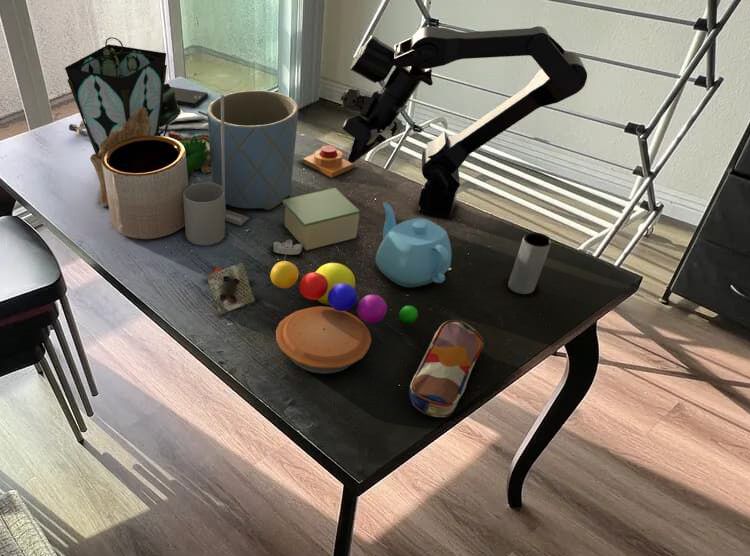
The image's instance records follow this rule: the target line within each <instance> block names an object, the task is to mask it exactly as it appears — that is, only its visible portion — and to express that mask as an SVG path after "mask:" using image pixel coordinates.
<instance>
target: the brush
mask: <svg viewBox="0 0 750 556" xmlns="http://www.w3.org/2000/svg"><path fill="white" fill-rule="evenodd" d="M224 95H225V94H224V93H221V94H220V97H221V156H222V188H223V189H224V195H225V156H224ZM226 205H227V204H226V199H225V222H228V223H231V224H234V225H237V226H242V225H243V224H244V223H245V222H246V221H247V220H249V219H250V216H247V215H244V214H241V213H239V212H238V213H237V212H235V211H232V210H229V209H226V208H227V207H226Z"/></svg>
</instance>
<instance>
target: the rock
mask: <svg viewBox="0 0 750 556" xmlns="http://www.w3.org/2000/svg"><path fill="white" fill-rule="evenodd" d="M150 134H151V125H150V120H149V117H148V111H147V110H146V108H144V107H142V108H139V109H138V110H136V111H135V113H134V114H133V115H132V116H130V118H129V119H128V121H127V122H126V123H125V125H124V126H123V127H122V128H121V129H120V130H119V131H112V132H110V134H109V136H108V137H107V138H106V139H105V140H104V141H103V142H102V143H101V144H100V150H99V152H98V154H95V153H93V154H91V156H90V158H89V160H90V162H91V164H92V165H93V167H94V169H95V172H96V176H97V177H98V181H99V188H100V189H99V190H100V191H99V192H100V193H99V198H98V203H99V204H100V205H101V207H102V208H106V207H109V204H108V198H107V192H106V185H105V179H104V173H103V167H102V156H103V154H104V152H105V151H106V150H107V149H108V148H109V147H111V146H112V145H114V144H116V143H118V142H120V141H123V140H126V139H129V138H133V137H139V136H150Z"/></svg>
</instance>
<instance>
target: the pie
mask: <svg viewBox="0 0 750 556" xmlns="http://www.w3.org/2000/svg"><path fill="white" fill-rule="evenodd" d="M275 338H276V339H275V340H276V342H277V344H278V346H279V349H280V350H281V351H282V352H283V353H284V354H285V355H286V356H287V357H289V359H290V360H291V361H292V362H293V363H294V364H295V365H296V366H297V367H299V368H301V369H302V370H305V371H307V372H310V373H313V374H319V375H320V374H321V375H329V374H330V375H331V374H335V373H338V372H342V371H344V370H345V369H347V368H349V367H350V366H352V365H353V364H355V363H356V362H358V361H360V360H362V359H363V358H364V357H365V356H366V353H367V352H368V351H369V349H370V346H371V344H372V336H371V331H370V330H369V328H368V326H367V325H366V324H365V323H364V322H363V320H362V319H361V318H360V317H358V316H357V315H354V314H352V313H350V312H348V311H338V310H335V309H334V308H332V307H331V306H325V305H324V306H323V305H319V306H318V305H317V306H312V307H307V308H303V309H300V310H295V311H294V312H292V313H291V314H289V315H287V316H285V317H284V318H283V319H282V320H281V321H280V322H279V323H278V326H277V327H276V330H275Z"/></svg>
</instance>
